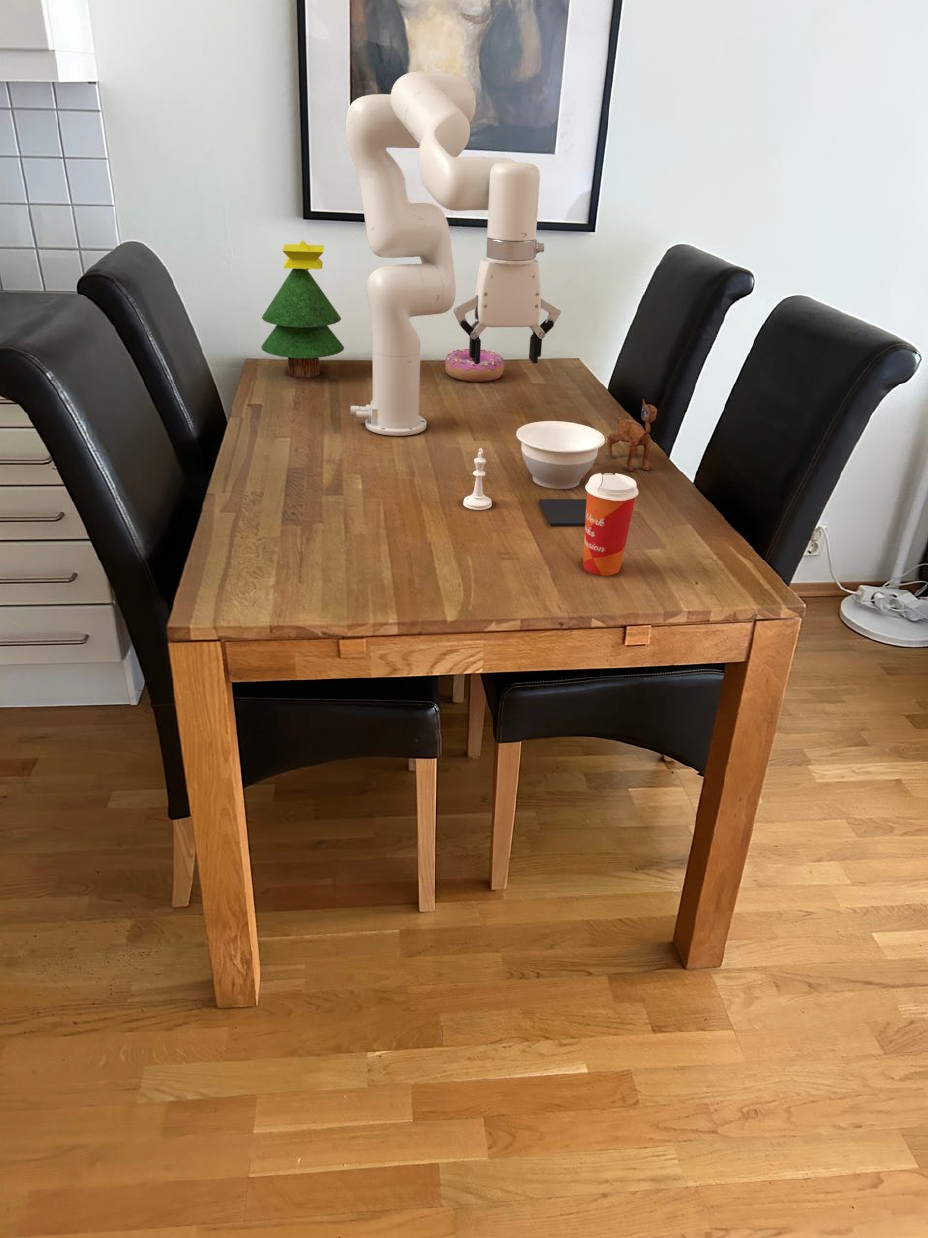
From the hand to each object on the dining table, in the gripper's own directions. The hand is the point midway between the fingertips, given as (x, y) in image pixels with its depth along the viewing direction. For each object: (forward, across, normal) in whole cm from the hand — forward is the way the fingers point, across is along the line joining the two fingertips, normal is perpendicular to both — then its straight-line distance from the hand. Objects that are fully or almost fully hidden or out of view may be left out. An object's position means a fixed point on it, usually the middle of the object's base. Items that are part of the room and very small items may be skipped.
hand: (504, 361), depth 153 cm
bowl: (+23, -12, -6) cm, 27 cm away
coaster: (+24, -11, +9) cm, 28 cm away
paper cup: (+24, -10, +29) cm, 39 cm away
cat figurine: (+23, -29, -16) cm, 40 cm away
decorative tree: (+22, +31, -76) cm, 85 cm away
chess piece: (+24, +4, +4) cm, 24 cm away
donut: (+22, -10, -73) cm, 77 cm away
